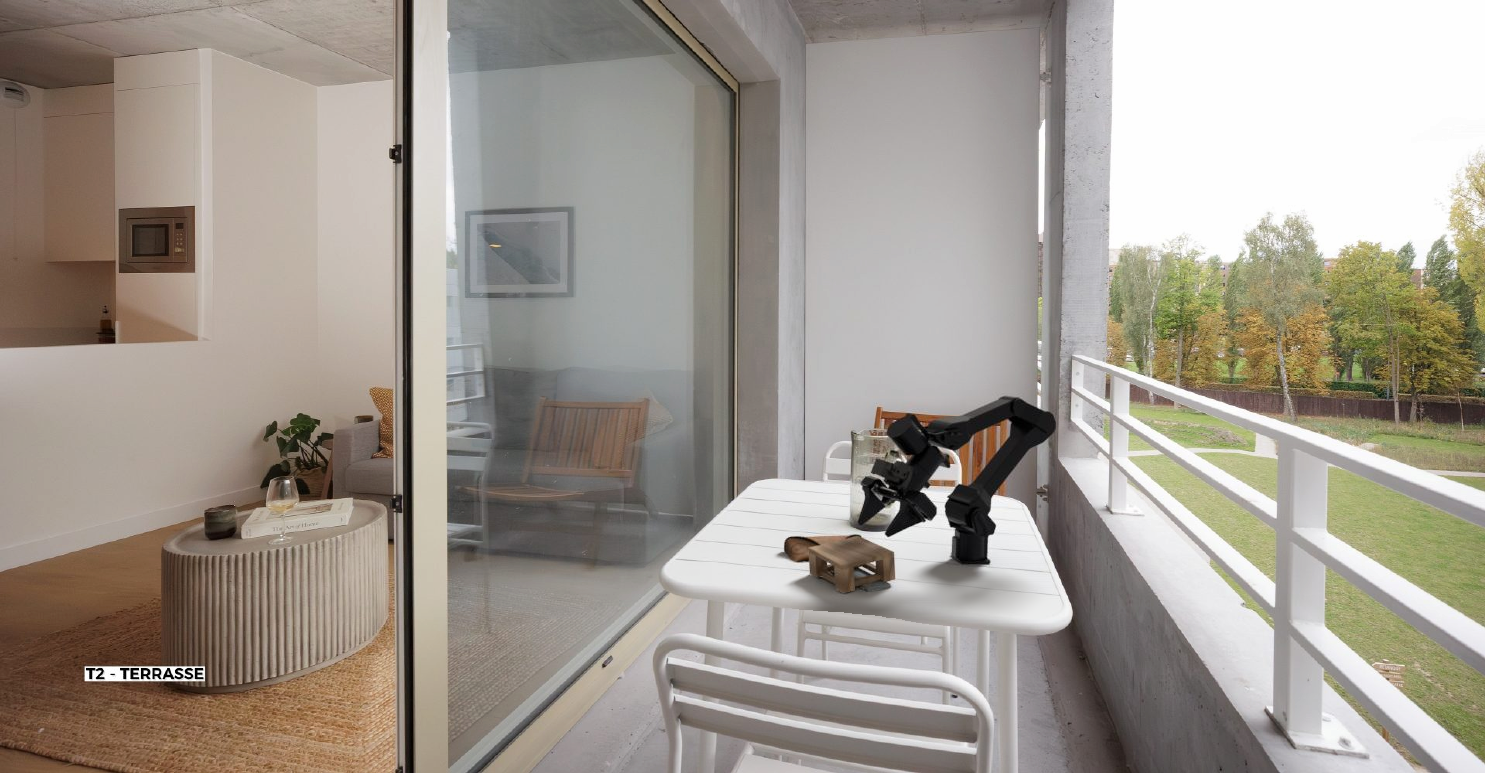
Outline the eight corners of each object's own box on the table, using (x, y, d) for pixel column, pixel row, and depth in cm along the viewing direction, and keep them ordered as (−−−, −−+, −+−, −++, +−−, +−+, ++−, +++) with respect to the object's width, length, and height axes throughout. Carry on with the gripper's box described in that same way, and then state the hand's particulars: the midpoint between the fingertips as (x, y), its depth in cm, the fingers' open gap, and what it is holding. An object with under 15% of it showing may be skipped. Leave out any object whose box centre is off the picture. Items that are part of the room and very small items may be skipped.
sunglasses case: (792, 562, 162) (789, 531, 165) (785, 570, 169) (782, 539, 172) (874, 558, 166) (869, 528, 169) (864, 566, 172) (860, 536, 175)
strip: (848, 566, 161) (848, 562, 161) (889, 587, 148) (890, 583, 148) (828, 569, 158) (828, 565, 158) (868, 591, 146) (868, 587, 146)
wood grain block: (858, 535, 160) (808, 547, 155) (894, 551, 149) (841, 565, 144) (859, 561, 161) (809, 574, 155) (895, 579, 150) (843, 593, 145)
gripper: (868, 437, 163) (823, 494, 159) (926, 451, 146) (877, 515, 142) (898, 471, 167) (854, 527, 163) (957, 488, 150) (910, 551, 147)
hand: (872, 529), depth 154 cm, fingers open, 9 cm apart
